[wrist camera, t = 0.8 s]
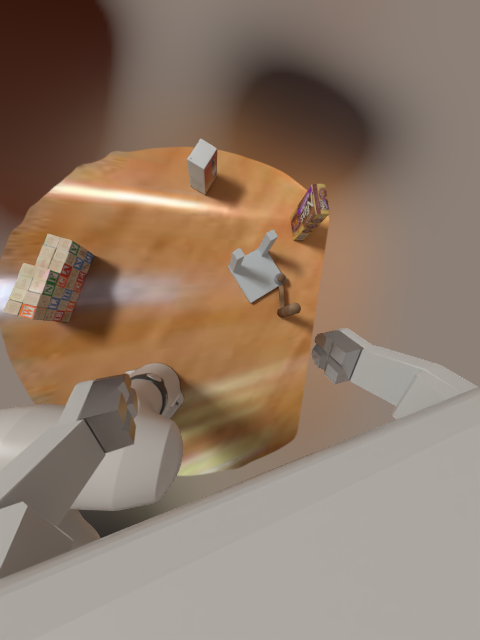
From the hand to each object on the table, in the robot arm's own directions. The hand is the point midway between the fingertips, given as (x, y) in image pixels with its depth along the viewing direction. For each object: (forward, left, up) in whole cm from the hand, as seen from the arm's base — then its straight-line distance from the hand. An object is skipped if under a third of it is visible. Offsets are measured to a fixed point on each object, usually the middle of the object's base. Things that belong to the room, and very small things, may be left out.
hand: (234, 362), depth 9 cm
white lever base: (+25, -2, -55) cm, 61 cm away
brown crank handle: (+22, -12, -54) cm, 60 cm away
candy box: (+47, -7, -56) cm, 73 cm away
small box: (+44, +28, -56) cm, 76 cm away
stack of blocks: (-6, +45, -56) cm, 72 cm away
